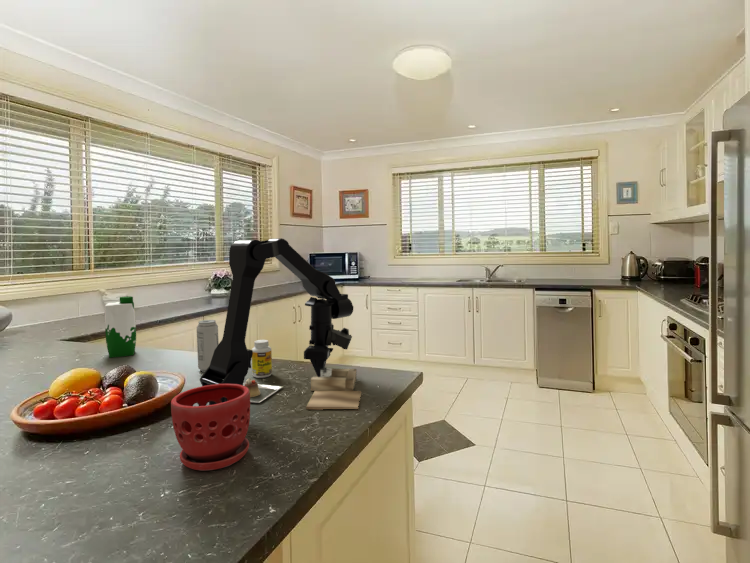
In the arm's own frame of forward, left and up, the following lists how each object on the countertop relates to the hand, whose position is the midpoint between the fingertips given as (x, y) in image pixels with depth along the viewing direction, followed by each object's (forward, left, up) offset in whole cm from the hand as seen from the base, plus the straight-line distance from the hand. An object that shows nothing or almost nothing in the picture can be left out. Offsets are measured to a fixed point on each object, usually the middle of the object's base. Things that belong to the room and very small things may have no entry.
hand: (320, 376), depth 121 cm
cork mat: (-16, -6, -1) cm, 17 cm away
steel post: (-4, -2, -1) cm, 5 cm away
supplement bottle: (+4, +18, -1) cm, 18 cm away
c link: (-4, -4, -1) cm, 6 cm away
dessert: (-12, +16, -2) cm, 20 cm away
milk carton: (+26, +74, -1) cm, 79 cm away
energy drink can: (+9, +36, -1) cm, 37 cm away
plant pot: (-44, +12, -1) cm, 46 cm away
